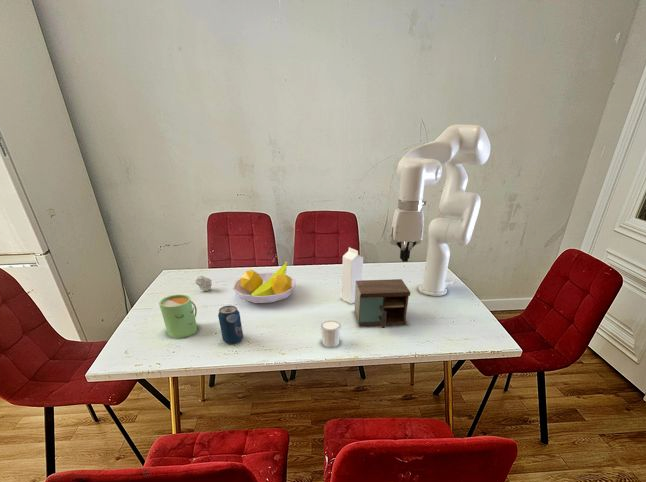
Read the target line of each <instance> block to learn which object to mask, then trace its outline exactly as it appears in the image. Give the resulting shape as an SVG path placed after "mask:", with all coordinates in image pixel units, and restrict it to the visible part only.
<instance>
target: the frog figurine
mask: <svg viewBox="0 0 646 482" xmlns="http://www.w3.org/2000/svg"><path fill="white" fill-rule="evenodd" d="M194 282H195V284H196V285H197V286H198V288H199V289H200V290H201V291H203V292H208V291H210V290H211V288H212V279H210V278H209V277H205V276H203V275H198V276H197V277H196V278H195V279H194Z"/></svg>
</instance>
